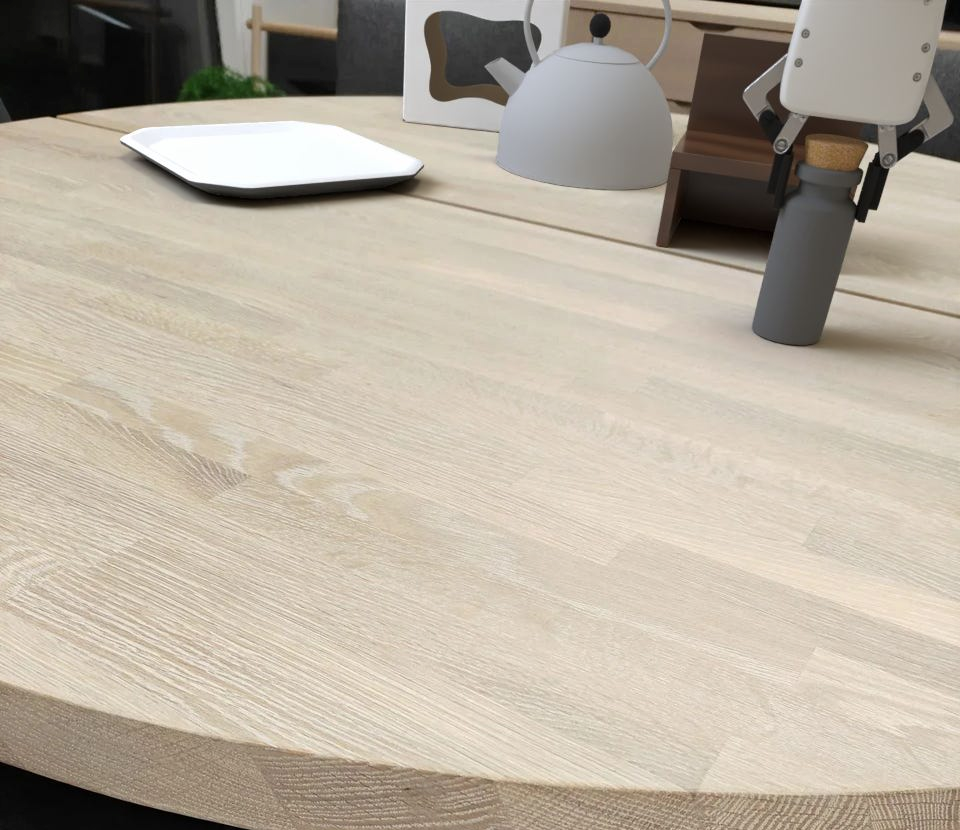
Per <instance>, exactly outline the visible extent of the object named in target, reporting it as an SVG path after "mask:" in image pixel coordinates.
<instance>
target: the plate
mask: <svg viewBox="0 0 960 830" xmlns="http://www.w3.org/2000/svg"><path fill="white" fill-rule="evenodd" d="M119 142H120V144H121V145H123V146H124V147H126V148H127V149H129V150H131V151H132V152H134V153H135V154H137V155H139V156H141V157H143V158H144V159H146V160H148V161H150V162H151V163H153V164H155V165H156V166H158V167H160V168H161V169H163V170H165V171H166V172H168V173H170V174H171V175H173V176H175V177H177V178H178V179H179V180H181V181H183V182H185V183H187V184H188V185H191V186H192V187H194V188H197V189H199V190H201V191H203V192H206V193H208V194H211V193H212V194H211V195H214V194H219V195H218V196H221V195H226V196H225V197H230V196H233V197H232V198H238V197H242V198H241V199H246V198H249V199H248V200H266V199H265V198H268V199H276V198H275V197H279V198H285V197H284V196H290V197H296V196H295V195H301V196H308V195H307V194H312V195H321V194H320V193H323V194H332V193H331V192H334V193H343V192H345V193H346V192H355V191H365V190H367V191H368V190H379V189H383V188H387V187H389V186H393V185H396V184H399V183H402V182H404V181H407V180H410V179H413V178H415V177H416V176H418V174H419V173H420V172H421V171H422V170H423V169H424V167H425V163H424V162H423V161H422V160H421V159H419V158H416V157H414V156H411V155H409V154H407V153H404V152H402V151H398V150H397V149H394V148H392V147H389V146H387V145H384V144H382V143H379V142H377V141H375V140H372V139H371V138H368V137H366V136H362V135H360V134H358V133H356V132H353V131H352V130H351V131H350V130H349V129H346V128H344V127H341V126H338V125H333V124H324V123H317V122H309V121H300V120H299V121H298V120H277V121H276V120H275V121H257V122H256V121H255V122H235V123H215V124H213V123H212V124H195V125H194V124H193V125H190V124H189V125H174V126H171V125H170V126H169V125H168V126H153V127H152V126H151V127H142V128H139V129H136V130H134V131H132V132H130V133H128V134H125V135H123V136H121V137H120V139H119Z"/></svg>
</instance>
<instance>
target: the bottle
mask: <svg viewBox="0 0 960 830" xmlns="http://www.w3.org/2000/svg"><path fill="white" fill-rule="evenodd" d="M869 146H870V145H869V144H868V143H867V142H865V141H863V140H862V139H860V140H858V139H854V138H849V137H845V136H838V135H829V134H811V135H808V136H806V138H805V154H804V159H802V160H799V161H798V162H797V163H796V167H795V171H794V175H795V176H796V177H798V178H799V179H800V181H799V186H798V188H797V189H796V190H793V191H791V192H789V193H788V194H786V195H785V196H784V199H783V203H782V207H781V209H780V212H779V216H778V220H777V224H776V228H775V232H773V237H772V241H771V245H770V249H769V252H768V257H767V260H766V265H765V269H764V273H763V277H762V281H761V285H760V289H759V294H758V297H757V302H756V306H755V311H754V314H753V318H752V324H751V329H752V331H753V332H754V333H755V334H756V335H758V336H760V337H761V338H764V339H765V340H768V341H771V342H775V343H778V344H783V345H785V344H786V345H791V346H807V345H813V344H817V343H818V342H819V341H820V340H821V338H822V335H823V331H824V329H825V325H826V321H827V318H828V315H829V311H830V308H831V304H832V302H833V298H834V294H835V291H836V288H837V284H838V280H839V278H840V274H841V271H842V267H843V264H844V260H845V257H846V253H847V249H848V246H849V243H850V239H851V235H852V232H853V229H854V226H855V221H856V219H855V217H856V214H857V209H858V208H857V202H855V200H852V199H851V198H850V197H849V195H850V191H851V188H852V187H853V186H857V185H858V186H859V185H860V184H861V183H862V181H863V178H864V170H863V169H862V168H861V167H860V165H861V164H862V161H863V160H864V157H865V155H866V153H867V152H868V149H869ZM858 186H857V187H858Z"/></svg>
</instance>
